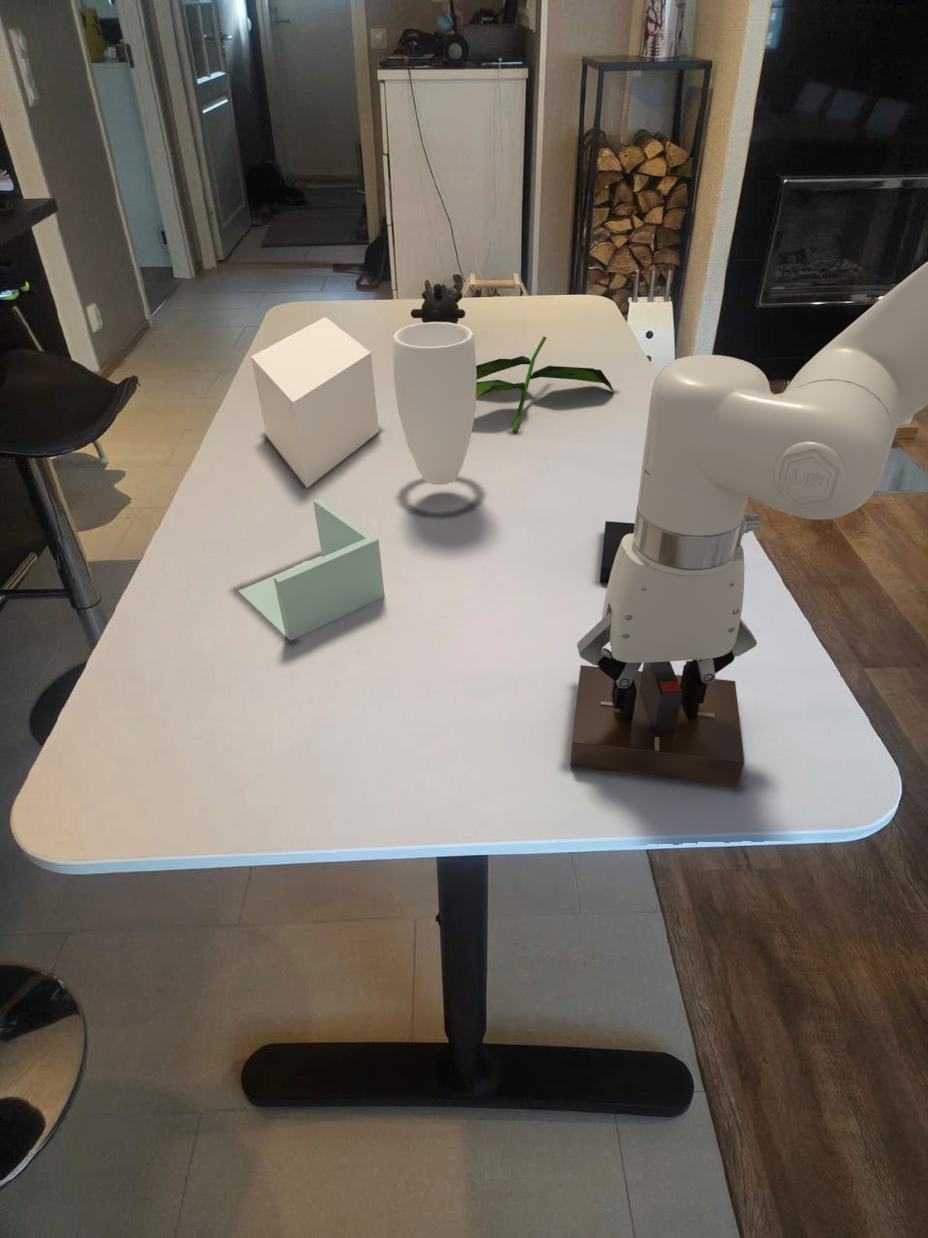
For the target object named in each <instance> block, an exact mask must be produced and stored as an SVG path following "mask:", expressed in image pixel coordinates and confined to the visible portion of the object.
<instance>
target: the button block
mask: <svg viewBox="0 0 928 1238" xmlns="http://www.w3.org/2000/svg"><path fill="white" fill-rule="evenodd" d="M634 527H635V522H623V521H622V522H621V521H609V520H606V521H605V523H604V531H603V532H604V533H603V543H602V553H601V564H600V573H599V583H601V584H602V583H603V584H604V583H605V584H608V582H609V578H610V574H611V570H612V567H613V563H614V560H615V557H616V554H617V551H618V548H619V546H620V543H621V541H622V539H623V537H624V536H625V535H627V534H631V533H634Z"/></svg>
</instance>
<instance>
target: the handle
mask: <svg viewBox="0 0 928 1238" xmlns="http://www.w3.org/2000/svg"><path fill="white" fill-rule="evenodd" d="M641 671H642V676H641V683H640V691H641V694H642V697H643V700H644V703H645V706H646V709H647V712H648V715H649V718H650V721H651V723H652V726H653V729H654V732H655V733H657V732H673V731H675V730H676V725H677V719H678V714H679V709H680V704H681V699H682V690H681V688H680V685H679V683H678V680H677V678H676V675H677V674H676V672H675V670H674V668H673V665H672V662H671V661H666V662H646V663H642V670H641Z"/></svg>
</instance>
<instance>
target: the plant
mask: <svg viewBox="0 0 928 1238" xmlns="http://www.w3.org/2000/svg"><path fill="white" fill-rule="evenodd" d="M546 340H547V336H542V338H541V339H540V342H539V344H538V345H537V347H536V349H535V351H534V352H533V355H532V357H531V359H530V358H529V357H527V356H524V355H520V356H517V357H515V358H497V359H494V360H491V361H487V362H484V363H480V364H478V365H477V364H476V373H477V380H480V379H482V378H486V377H488V376H490V375H492V374H495V373H498V372H502V371H505V370H508V369H512V368H514V367H518V366H521V365H529V366H528V371H527V374H526V378H525V381H524V382H517V383H516V382H515V383H512V382H509V381H505V380H502V379H493V380H484V381H483V380H481V381H476V398H478V397H482V396H484V395H488V394H493V393H495V392H504V391H509V390H522V393H521V396H520V400H519V404H518V408H517V410H516V411H517V412H516V415H515V419H514V423H513V426H512V431H511V432H513V433H517V431H518V427H519V423H520V419H521V416H522V412H523V408H524V404H525V401H526V397H527V392H528V389H529V384H530V381H531V380H534V379H538V378H548V379H560V380H561V379H562V380H563V379H564V380H573V381H575V380H576V381H582V382H590V383H599V384H604V385H606V386H607V388H609V389H610V390H611V391H613V393H615V391H614V389H613V386H612V383H610V381H609V379H608V378H607V377H606V375H605V374H604V372H603V371H602V370H601V369H595V368H593V367H578V366H561V365H560V366H558V365H547V366H544V367H542V368H540V369H538V370H535V371H533V369H534V365H535V361H536V359H537V356H538V354H539V352H540V351H541V349H542V347H543V345H544V344H545V342H546Z"/></svg>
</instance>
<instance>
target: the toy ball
mask: <svg viewBox="0 0 928 1238" xmlns="http://www.w3.org/2000/svg"><path fill="white" fill-rule="evenodd" d="M421 298H422V299H423V303H422V304H421V307H420V308H414V309H412V310H411V311H410V316H411V318H412V319H421V323H428V322H449V323H454V324H458V322H459V319H464V318H465V317H466V311H465V310H464V309H462V308H459V305H458V304H459V302H460V301H461V300H462V299H463V293H462V292H461V291H458V290H457V291H455V292H454V293H453V294H452V295H450V294H448V293H445V292H443V286H442V285H441V284H440V283H436V284H434V285H433V293H430V291H428V290H424V291H423V292H422V294H421Z"/></svg>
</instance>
